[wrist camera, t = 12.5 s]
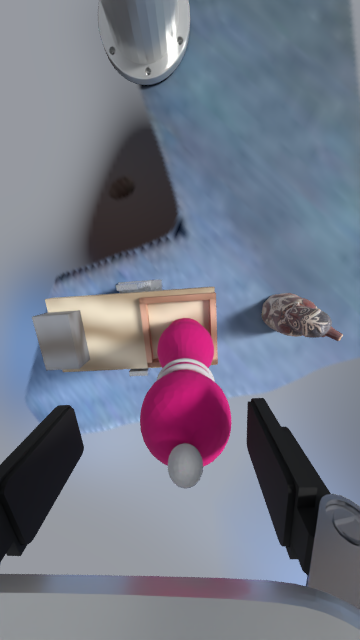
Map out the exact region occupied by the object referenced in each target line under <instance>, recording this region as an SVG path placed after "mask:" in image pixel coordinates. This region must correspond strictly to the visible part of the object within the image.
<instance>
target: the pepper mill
mask: <svg viewBox="0 0 360 640" xmlns="http://www.w3.org/2000/svg"><path fill="white" fill-rule="evenodd" d="M157 354H158V359H159V362H160V365H161V366H162V370H161V371H160V373H159V375H158V377H157V381H156V382H155V383H154V384H153V386H152V387H151V388H150V390H149V391H148V392H147V394H146V396H145V398H144V401H143V405H142V409H141V416H140V425H141V433H142V436H143V439H144V442H145V444H146V446H147V447H148V449H149V450H150V452H151V453H152V455H153V456H154V457H156V458H157V459H158V460H159V461H161V462H162V463H164V464H165V465H167V466H168V472H169V475H170V478H171V479H172V481H173V482H174V483H175V484H176V485H177V486H178V487H181V488H191V487H193V486H194V485H196V484H197V482H198V481H199V480H200V477H201V475H202V472H203V467H204V466H205V465H208V464H209V463H211V462H213V461H214V460H215V459H216V458H217V456H219V455H220V454H221V452H222V451H223V449H224V448H225V446H226V444H227V441H228V439H229V436H230V431H231V413H230V408H229V404H228V401H227V399H226V397H225V395H224V393H223V391H222V389H221V388H220V387H219V386H218V385H217V384H216V383H215V381H214V377H213V375H212V373H211V371H210V370H209V369H208V368H209V366H210V365H211V362H212V360H213V356H214V345H213V340H212V338H211V336H210V334H209V332H208V331H207V330H206V329H205V328H204V327H203V326H202V325H201V324H200V323H199V322H198V321H196V320H194V319H191V318H180V319H178V320H175V321H174V322H172V323H171V324H170V325H169V326H168V327H167V328H166V329H165V330H164V331H163V333H162V334H161V336H160V338H159V342H158V347H157Z"/></svg>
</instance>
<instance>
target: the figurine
mask: <svg viewBox="0 0 360 640" xmlns="http://www.w3.org/2000/svg"><path fill="white" fill-rule="evenodd" d="M262 319H263V321H264V322H265V324H267V325H268V326H269V327H270V328H272V329H273V330H275V331H277V332H280V333H282V334H285V335H287V336H302V335H303V336H305V337H325V336H328V337H330V338H332V339H335V340H337V341H339V340H340V339H341V337H342V336H343V334H342V333H340V332H338V331H336V330H335V329H333V328H332V327H331V324H332V321H331V319H330V317H329V316H328V315H327V314H326V313H325V312H323V311H321V310H320V309H317V307H316V306H315V305H314V303H312V302H311V301H309V300H307V299H304V298H301V297H299V296H297V295H295V294H291V293H285V294H278V295H276V294H275V295H272V296H270V297H269V298H268V299H267V300H266V301H265V302H264V304H263V309H262Z"/></svg>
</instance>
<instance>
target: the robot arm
mask: <svg viewBox="0 0 360 640" xmlns="http://www.w3.org/2000/svg"><path fill="white" fill-rule="evenodd" d="M98 25H99V31H100V35H101V40H102V43H103V45H104V49H105V51H106V54H107V56H108V58H109V60H110V62H111V63H112V65H113V66H114V68H115V69H116V70H117V71H118V72H119V73H120V74H121V75H122V76H123V77H125V78H126V79H127V80H129V81H131V82H133V83H136V84H141V85H151V84H155V83H158V82H160V81H162V80H164V79H165V78H167V77H168V76H169V75H170V74H171V73H172V72H174V70H175V69H176V68H177V66H178V65H179V63H180V62H181V60H182V58H183V56H184V53H185V50H186V47H187V44H188V39H189V33H190V7H189V1H188V0H99V6H98ZM247 416H248V417H247V448H248V451H249V454H250V458H251V461H252V463H253V466H254V469H255V472H256V475H257V478H258V481H259V484H260V487H261V490H262V493H263V496H264V499H265V502H266V505H267V508H268V510H269V513H270V516H271V519H272V522H273V525H274V528H275V531H276V534H277V537H278V540H279V542H280V544H281V545H282V546H286V549H287V552H288V555H289V557H290V559H298V560H299V562H300V565H301V567H302V570H303V571H304V572H305V573H306V574H307V575H308V576H307V583H306V586H301V585H297V584H292V583H284V582H276V581H268V580H248V579H229V578H228V579H227V578H199V577H198V578H197V577H196V578H195V577H159V576H110V575H45V574H44V575H42V574H40V575H39V574H0V640H360V506H358V505H357V504H355V503H354V502H352V501H351V500H349V499H347V498H345V497H343V496H341V495H336V494H330V492H329V490H328V489H327V487H326V486H325V484H324V483H323V481H322V480H321V478H320V476H319V475H318V473H317V472H316V470H315V469H314V467H313V466H312V464H311V462H310V461H309V460H308V458H307V456H306V455H305V453H304V452H303V450H302V449H301V447H300V445H299V444H298V442H297V441H296V439H295V438H294V436H293V435H292V433H291V431H290V430H289V429H288V428H287V427H281V426H280V424H279V423H278V421H277V420H276V418H275V416H274V414H273V413H272V411H271V410H270V408H269V406H268V404H267V403H266V401H265V399H264V398H253V399H251V402H248V415H247ZM83 450H84V446H83V442H82V438H81V434H80V430H79V427H78V423H77V419H76V415H75V411H74V409H73V408H72V407H71V406H70V405H59V406H57V407H56V408H55V409H54V410H53V411H52V412H51V413H50V414H49V415H48V416H47V417H46V418H45V419H44V420H43V421H42V422H41V423H40V424H39V425H38V426H37V427H36V429H34V430H33V432H31V434H30V435H29V436H28V437H27V438H26V439H25V440H24V441H23V442H22V443H21V444H20V445H19V446H18V447H17V448H16V449H15V450H14V451H13V452H12V453H11V454H10V455H9V456H8V457H7V458H6V460H4V461H3V462H2V464H1V465H0V563H1V560H2V559H3V557H4V556H5V554H7V555H8V556H21V555H22V552H23V551H24V549H25V548H26V546H27V544H29V543H30V542H31V541H32V540H33V539H34V537H35V535H36V534H37V532H38V530H39V529H40V527H41V525H42V523H43V522H44V520H45V518H46V516H47V515H48V513H49V511H50V509H51V508H52V506H53V504H54V502H55V501H56V499H57V497H58V495H59V494H60V492H61V490H62V489H63V487H64V485H65V483H66V482H67V480H68V478H69V476H70V474H71V473H72V471H73V469H74V468H75V466H76V464H77V462H78V461H79V459H80V457H81V455H82V453H83Z"/></svg>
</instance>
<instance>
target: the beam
mask: <svg viewBox="0 0 360 640" xmlns="http://www.w3.org/2000/svg"><path fill="white" fill-rule="evenodd" d="M45 302H46V306H47V310H48V313H44V314H41V315H37V316H33V317H32V320H33V323H34V327H35V331H36V334H37V338H38V342H39V345H40V349H41V353H42V356H43V360H44V364H45V367H46V370H63V372H76V371H97V370H117V369H138V368H158V367H162V366H161V365H160V362H159V359H158V354H157V347H158V342H159V338H160V336H161V334H162V333H163V331H164V330H165V329H166V328H167V327H168V326H169V325H170V324H171V323H172V322H174V321H175V320H178V319H180V318H191V319H194V320H196V321H198V322H199V323H200V324H201V325H202V326H203V327H204V328H205V329H206V330H207V331H208V332H209V334H210V336H211V338H212V340H213V345H214V356H213V360H212V362H211V365H216V364H218V359H217V321H216V293H215V292H214V287H201V288H187V289H173V290H158V291H144V292H130V293H116V294H102V295H88V296H74V297H60V298H49V299H45Z"/></svg>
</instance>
